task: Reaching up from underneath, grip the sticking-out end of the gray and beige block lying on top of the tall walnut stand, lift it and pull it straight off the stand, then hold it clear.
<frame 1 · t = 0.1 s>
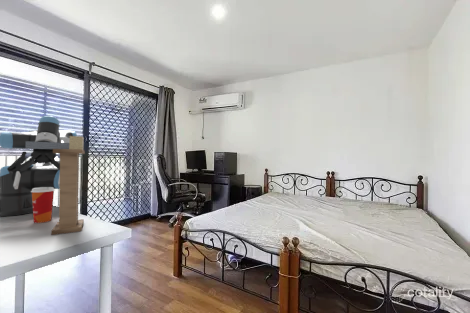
hand: (38, 186, 90), 15 cm above the table, tool tilted 35°, fingers open, 13 cm apart
stand: (68, 228, 85), on the table
gray and beige block: (56, 149, 83), point 30 cm above the table, touching stand
paper cup: (42, 221, 94), on the table
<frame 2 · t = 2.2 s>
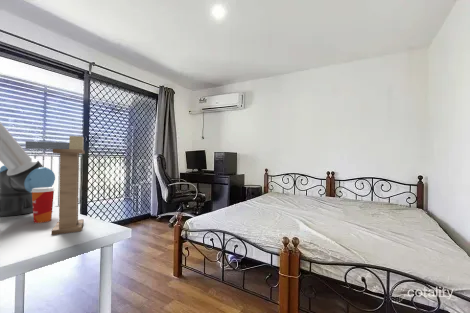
nothing on the table moved.
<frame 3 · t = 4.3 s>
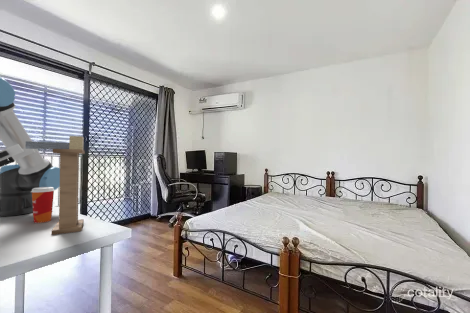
hand: (27, 148, 78), 30 cm above the table, tool pointing upward, fingers open, 13 cm apart
nothing on the table moved.
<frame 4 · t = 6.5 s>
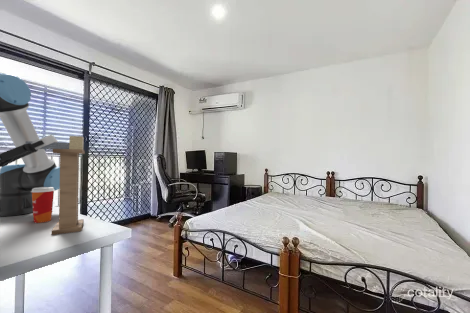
hand: (54, 138, 83), 34 cm above the table, tool pointing upward, fingers closed on gray and beige block, 2 cm apart
gray and beige block: (56, 149, 83), point 30 cm above the table, touching gripper, stand
everything else where it was.
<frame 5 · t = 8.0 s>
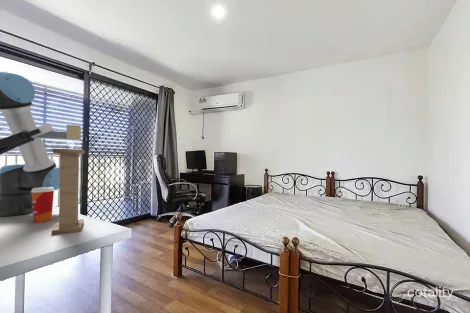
hand: (51, 127, 82), 38 cm above the table, tool pointing upward, fingers closed on gray and beige block, 2 cm apart
gray and beige block: (53, 138, 83), point 34 cm above the table, touching gripper
everything else where it was.
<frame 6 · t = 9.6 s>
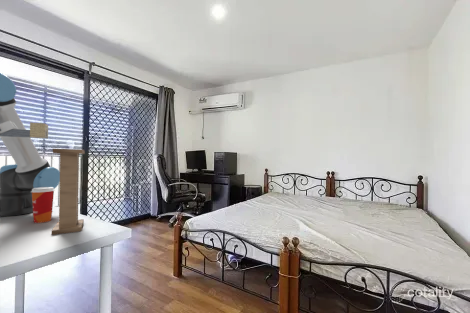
hand: (13, 124, 77), 38 cm above the table, tool pointing upward, fingers closed on gray and beige block, 2 cm apart
gray and beige block: (15, 136, 77), point 34 cm above the table, touching gripper
everything else where it was.
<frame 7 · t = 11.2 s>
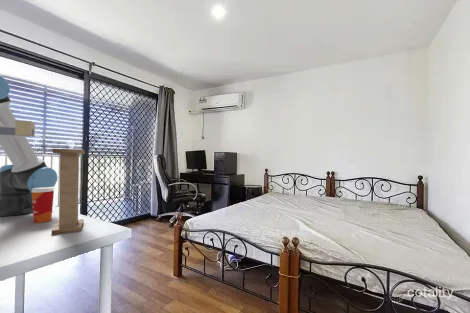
gray and beige block: (1, 134, 77), point 35 cm above the table, touching gripper
everything else where it was.
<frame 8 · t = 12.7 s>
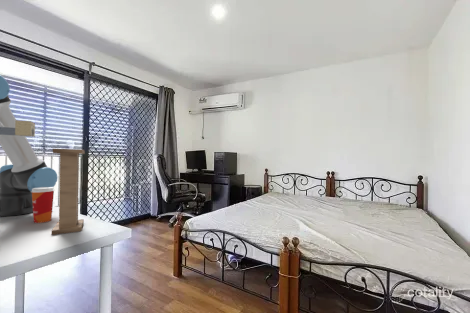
gray and beige block: (1, 134, 77), point 35 cm above the table, touching gripper
everything else where it was.
at the end: the gripper is holding gray and beige block; gray and beige block touching gripper; gray and beige block moved 16.1 cm from its start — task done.
